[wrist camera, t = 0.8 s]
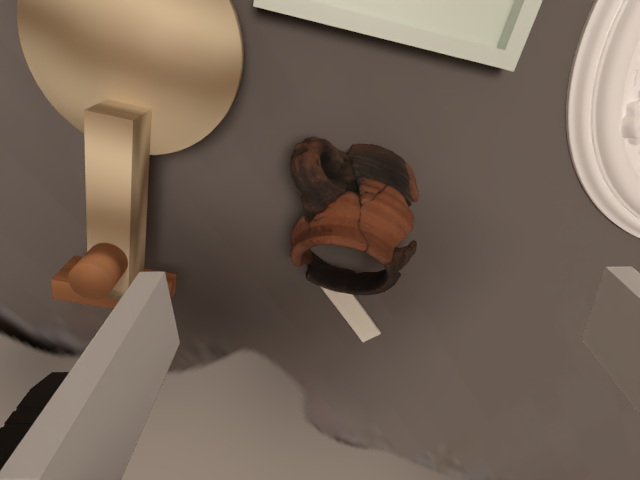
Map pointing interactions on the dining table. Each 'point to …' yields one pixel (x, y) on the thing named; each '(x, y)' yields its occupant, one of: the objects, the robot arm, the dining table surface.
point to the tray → (429, 23)
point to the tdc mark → (354, 314)
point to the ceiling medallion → (608, 111)
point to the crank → (129, 111)
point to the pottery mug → (353, 212)
